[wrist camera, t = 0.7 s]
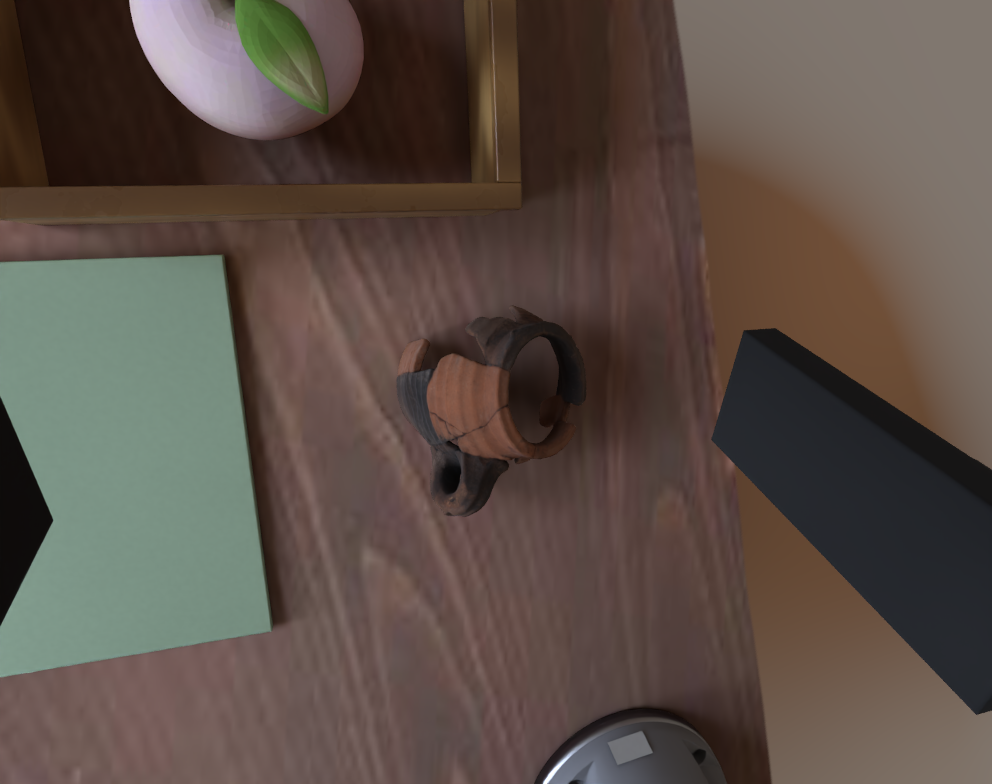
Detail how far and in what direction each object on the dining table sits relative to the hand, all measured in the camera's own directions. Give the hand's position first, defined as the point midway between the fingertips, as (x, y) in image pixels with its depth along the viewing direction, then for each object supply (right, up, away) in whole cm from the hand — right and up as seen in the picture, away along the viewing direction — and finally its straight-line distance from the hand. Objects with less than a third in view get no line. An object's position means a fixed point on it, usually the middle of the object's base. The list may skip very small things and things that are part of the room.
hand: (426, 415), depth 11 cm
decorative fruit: (-11, +17, +19) cm, 28 cm away
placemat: (-21, -4, +21) cm, 30 cm away
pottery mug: (0, 0, +26) cm, 26 cm away
